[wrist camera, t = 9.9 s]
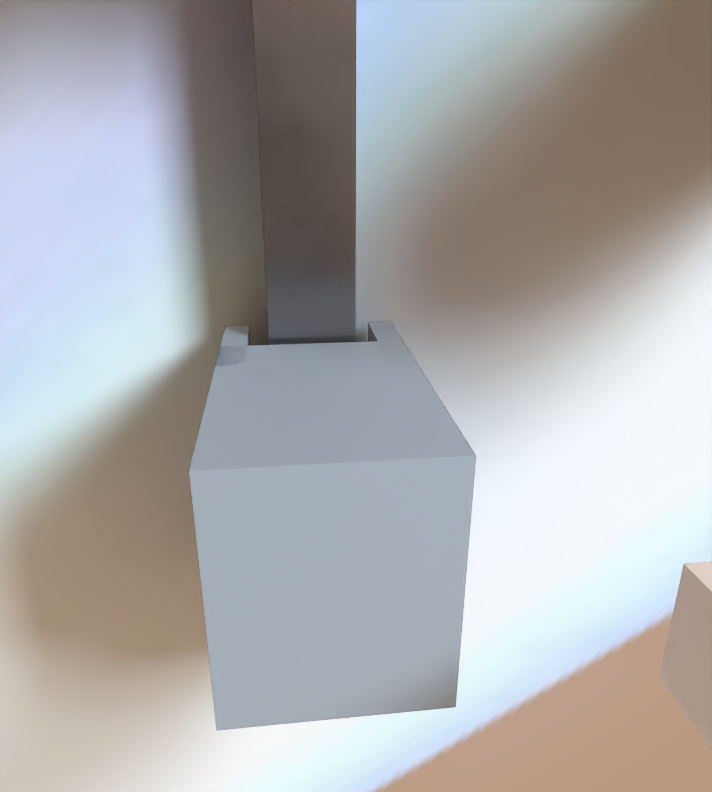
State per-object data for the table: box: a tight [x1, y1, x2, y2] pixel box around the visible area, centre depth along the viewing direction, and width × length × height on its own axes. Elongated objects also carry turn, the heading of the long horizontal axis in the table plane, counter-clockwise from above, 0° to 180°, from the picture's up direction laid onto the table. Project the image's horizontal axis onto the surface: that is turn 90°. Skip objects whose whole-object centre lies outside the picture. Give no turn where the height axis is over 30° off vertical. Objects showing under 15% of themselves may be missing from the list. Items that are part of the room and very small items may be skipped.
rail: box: [252, 0, 356, 345], centre depth 18 cm, size 19×2×2 cm, turn 0°
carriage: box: [189, 321, 476, 730], centre depth 16 cm, size 6×5×9 cm
